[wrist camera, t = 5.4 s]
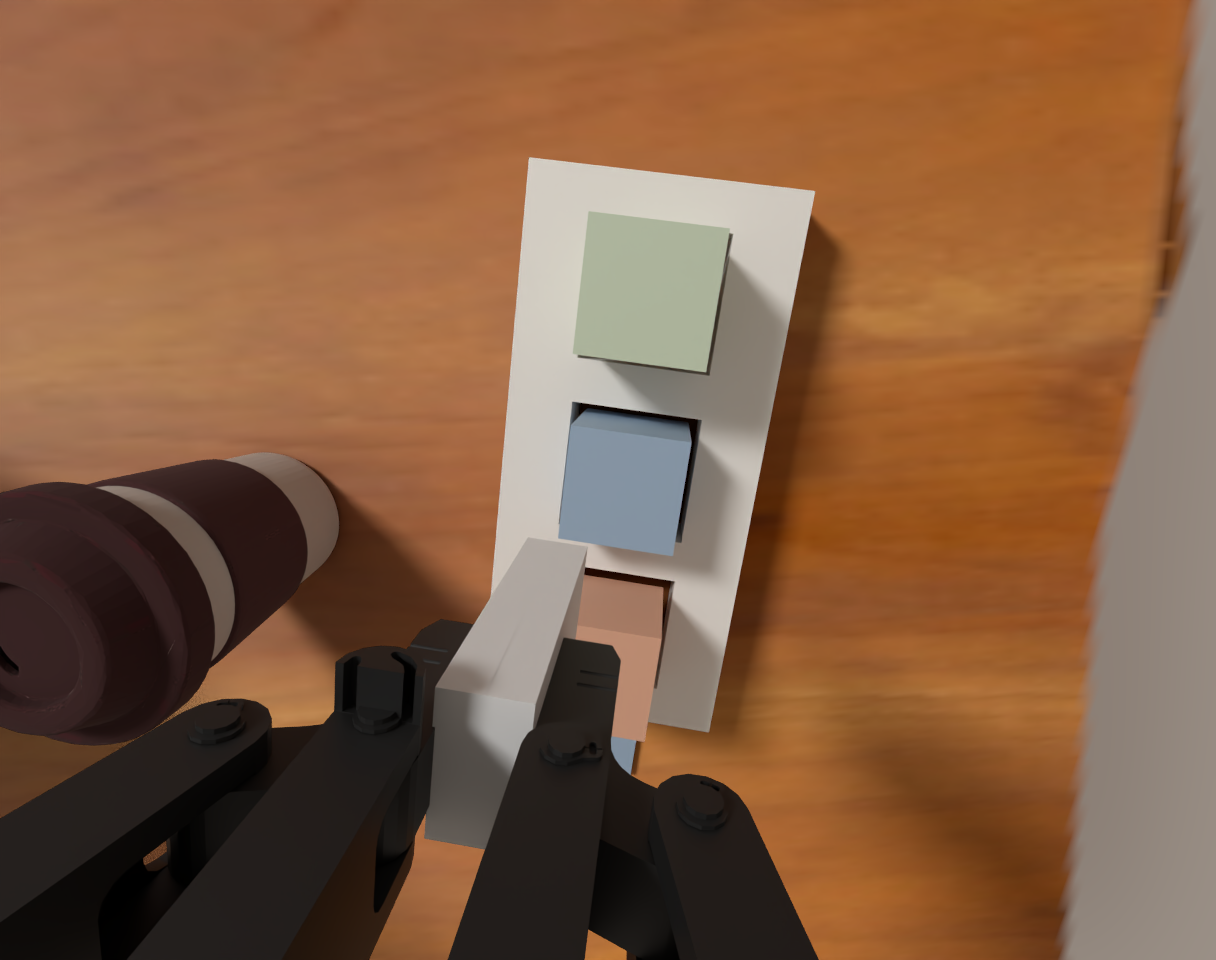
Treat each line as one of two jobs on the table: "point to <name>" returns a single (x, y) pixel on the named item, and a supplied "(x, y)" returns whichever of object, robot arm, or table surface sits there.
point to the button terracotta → (625, 643)
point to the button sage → (649, 290)
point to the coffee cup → (145, 587)
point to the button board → (654, 395)
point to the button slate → (624, 481)
